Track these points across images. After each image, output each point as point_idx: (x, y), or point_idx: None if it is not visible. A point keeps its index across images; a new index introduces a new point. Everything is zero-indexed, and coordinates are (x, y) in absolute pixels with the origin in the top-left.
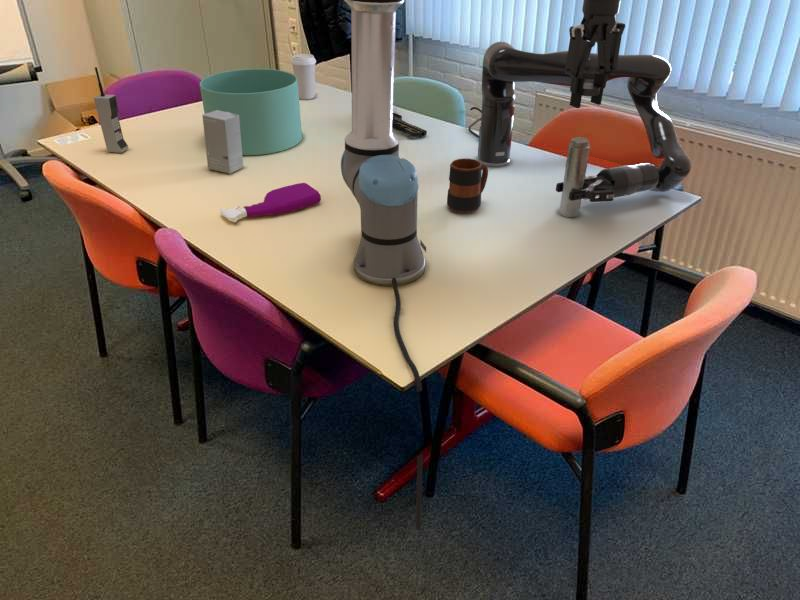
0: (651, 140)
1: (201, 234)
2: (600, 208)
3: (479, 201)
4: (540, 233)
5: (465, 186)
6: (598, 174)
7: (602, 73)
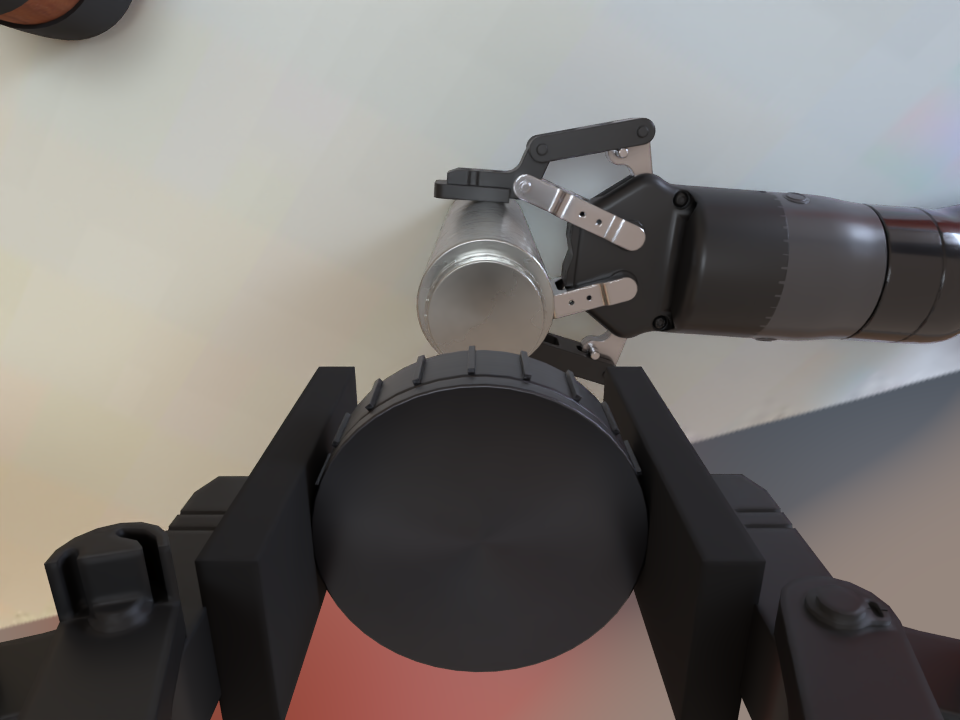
0: None
1: None
2: None
3: (95, 21)
4: (278, 319)
5: None
6: (693, 201)
7: (748, 675)
